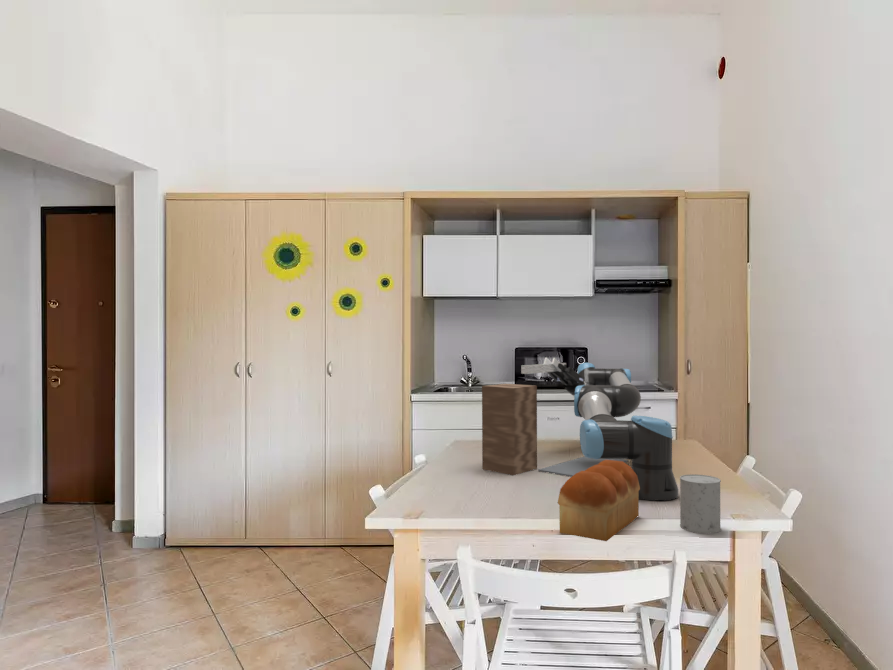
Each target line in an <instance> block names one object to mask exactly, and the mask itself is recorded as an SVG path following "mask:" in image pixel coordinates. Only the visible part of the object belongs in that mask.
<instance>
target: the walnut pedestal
mask: <svg viewBox="0 0 893 670" xmlns="http://www.w3.org/2000/svg"><path fill="white" fill-rule="evenodd" d="M481 411H482V412H481V420H482V421H481V422H482V425H481V429H482V430H481V438H482V439H481V440H482V441H481V442H482V443H481V447H482V449H481V450H482V451H481V452H482V456H481V457H482V458H481V459H482V461H481V462H482V463H481V464H482V466H481V467H482V468H481V469H483V470H484V471H490V472H493V473H494V472H495V473H500V474H504V475H509V474H510V475H511V476H517V475H520V474H524V473H527V472H531V471H534V470H533V469H535V470H538V386H537V385H534V384H533V385H532V384H521V383H520V384H517V383H516V384H515V383H499V384H489V385H481ZM530 470H531V471H530ZM523 472H524V473H523ZM516 474H517V475H516Z"/></svg>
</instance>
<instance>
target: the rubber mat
mask: <svg viewBox="0 0 893 670" xmlns="http://www.w3.org/2000/svg"><path fill="white" fill-rule="evenodd" d="M604 460H614V461H623V462H624V463H625V462H626V463H628V462H629V459H593V458H587V457H585V456H584V455H583V456H582V457H581V456H580V457H577V458H575V459H571V460H567V461H563V462H560V463H556V464H553V465H550V466H545V467H542V468H537V470H538V472H540V471H542V473H546V472H549V473H548V474H552V473H555V474H554V475H558V474H560V475H559V476H563V475H566V476H565V477H569V476H573V475H575V474H576V473H578V472H580V471H585V470H587V469H588V468H590V467H592V466H594V465H597V464H599V463H600V462H602V461H604Z"/></svg>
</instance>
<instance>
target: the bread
mask: <svg viewBox="0 0 893 670" xmlns="http://www.w3.org/2000/svg"><path fill="white" fill-rule="evenodd" d="M639 490H640V486H639V481H638V477H637V475H636V473H635V472H634V471H633V469H632V466H630V465H629V464H627V462H626V463H624V462H623V461H614V460H604V461H602V462H600V463H599V464H597V465H594V466H592V467H590V468H588V469H587V470H585V471H580V472H578V473H576V474H575V475H573V476H572V477H570V478H568V479H567V480H566V481H565V483H563V485H562V486H561V488H560V490H559V495H558V500H557V504H558V505H559V507H558V508H559V534H564V535H565V534H566V535H569V536H570V535H571V536H575V537H581V538H586V539H592V540H597V541H601V542H607V541H609V540H610V539H611V538H613V537H614V536H616V535H617V534H618V533H619V532H620V531H622V530H623V529H624V528H626V527H628V525H630V524H631V523H632V522H633V520H634V519H635V518H636V517H637V516H640V515H639V506H640V505H639V503H640V502H639V500H640V499H639V493H638V491H639ZM637 518H638V517H637ZM637 518H636V519H637ZM636 519H635V520H636ZM635 520H634V521H635Z"/></svg>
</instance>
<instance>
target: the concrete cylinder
mask: <svg viewBox="0 0 893 670" xmlns="http://www.w3.org/2000/svg"><path fill="white" fill-rule="evenodd" d="M679 483H680V485H679V487H680V488H679V493H680V494H679V496H680V498H679V502H680V503H679V506H680V509H679V510H680V511H679V512H680V513H679V515H680V521H679V523H680V524H679V526H680V529H683V530H684V531H687V532H691V533H696V534H707V535H708V534H717V533H719V532H721V531H722V528H721V478H718V477H716V476H712V475H708V474H707V475H705V474H691V473H690V474H683V475H680V476H679Z"/></svg>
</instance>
